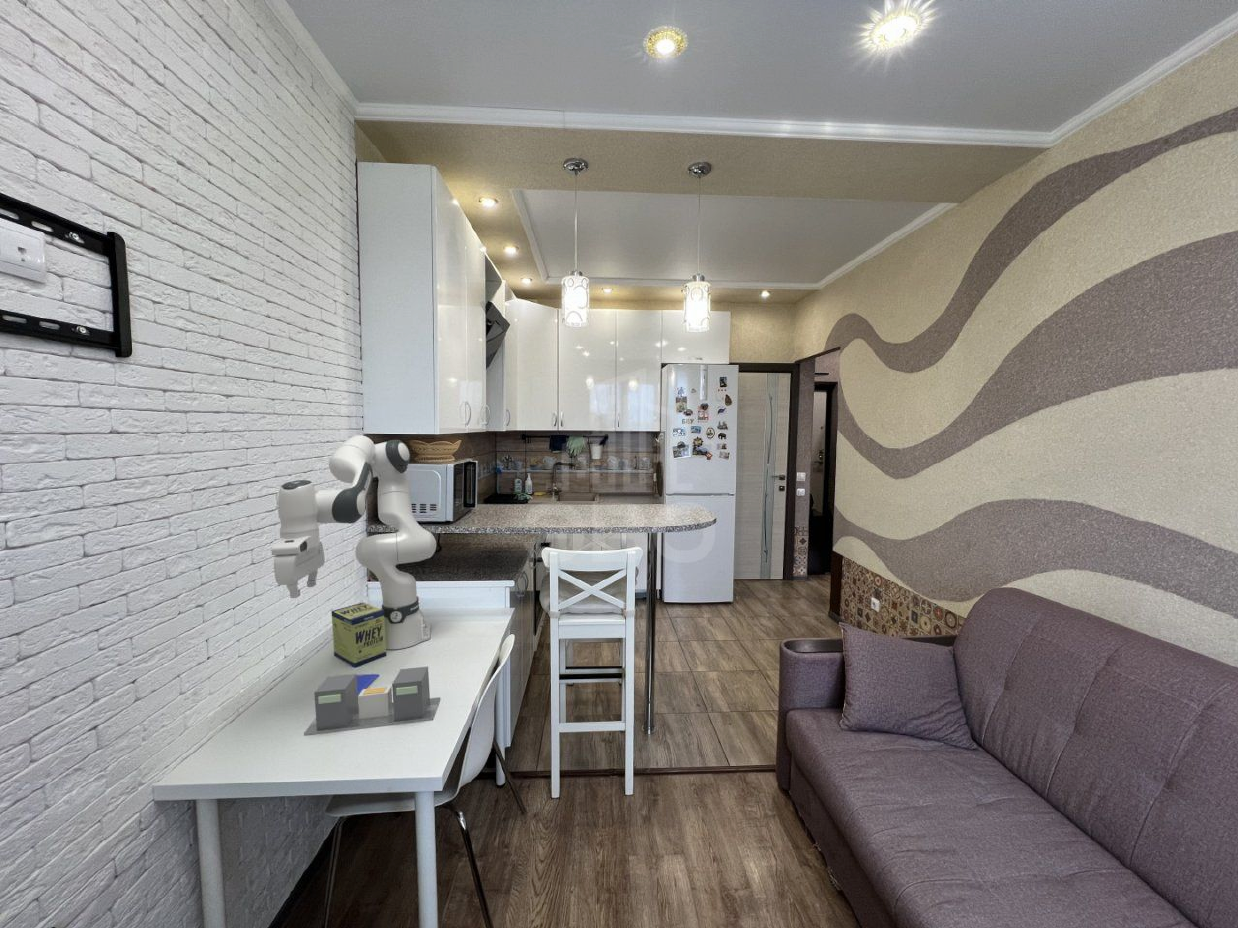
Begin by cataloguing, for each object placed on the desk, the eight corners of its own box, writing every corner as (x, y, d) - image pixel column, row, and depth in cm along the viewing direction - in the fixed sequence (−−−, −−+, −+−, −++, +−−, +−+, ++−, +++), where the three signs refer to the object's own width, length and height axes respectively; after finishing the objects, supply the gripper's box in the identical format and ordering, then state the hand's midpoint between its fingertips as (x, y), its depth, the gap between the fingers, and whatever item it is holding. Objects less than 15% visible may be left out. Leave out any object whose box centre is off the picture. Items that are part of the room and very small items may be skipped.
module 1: (330, 713, 129) (327, 676, 128) (358, 710, 130) (356, 673, 129) (316, 732, 120) (313, 693, 120) (346, 729, 122) (344, 689, 121)
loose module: (364, 711, 128) (362, 688, 128) (392, 708, 129) (391, 685, 129) (359, 719, 125) (358, 695, 124) (388, 715, 126) (387, 692, 126)
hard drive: (352, 674, 148) (327, 696, 136) (379, 673, 148) (357, 695, 136) (352, 679, 148) (328, 701, 136) (379, 678, 148) (357, 700, 136)
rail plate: (321, 712, 129) (321, 710, 129) (440, 699, 134) (440, 697, 134) (303, 735, 120) (303, 732, 120) (432, 719, 124) (432, 717, 124)
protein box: (355, 668, 155) (352, 619, 154) (333, 656, 164) (330, 610, 163) (387, 655, 163) (384, 609, 162) (364, 644, 172) (362, 601, 172)
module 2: (402, 705, 132) (400, 669, 131) (430, 702, 133) (428, 666, 132) (393, 723, 123) (391, 684, 123) (422, 719, 125) (420, 681, 124)
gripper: (305, 534, 142) (308, 581, 142) (267, 550, 121) (271, 605, 122) (329, 533, 143) (332, 579, 143) (295, 548, 122) (298, 602, 123)
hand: (303, 591), depth 133 cm, fingers open, 8 cm apart
